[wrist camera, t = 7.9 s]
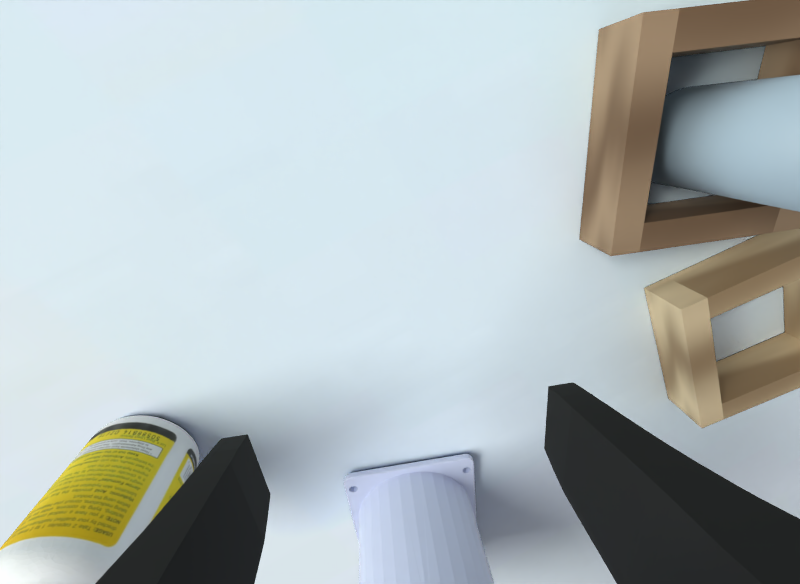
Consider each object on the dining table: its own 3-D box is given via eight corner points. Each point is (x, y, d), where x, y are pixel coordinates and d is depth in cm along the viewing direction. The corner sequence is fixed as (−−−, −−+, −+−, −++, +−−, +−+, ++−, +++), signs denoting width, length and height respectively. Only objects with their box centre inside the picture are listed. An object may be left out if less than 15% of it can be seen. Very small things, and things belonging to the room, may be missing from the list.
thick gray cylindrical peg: (706, 184, 18) (947, 226, 10) (626, 184, 17) (819, 229, 10) (738, 87, 16) (1051, 57, 9) (650, 85, 16) (902, 53, 8)
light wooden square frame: (806, 338, 22) (856, 363, 20) (668, 398, 23) (701, 428, 21) (806, 212, 19) (867, 225, 17) (644, 287, 20) (681, 309, 17)
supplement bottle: (72, 435, 20) (-158, 688, 11) (159, 396, 19) (-7, 627, 11) (141, 495, 22) (-3, 746, 13) (222, 462, 22) (128, 698, 13)
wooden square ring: (746, 215, 19) (799, 228, 16) (579, 239, 18) (610, 256, 16) (804, 5, 15) (884, -16, 13) (599, 29, 15) (643, 12, 12)
